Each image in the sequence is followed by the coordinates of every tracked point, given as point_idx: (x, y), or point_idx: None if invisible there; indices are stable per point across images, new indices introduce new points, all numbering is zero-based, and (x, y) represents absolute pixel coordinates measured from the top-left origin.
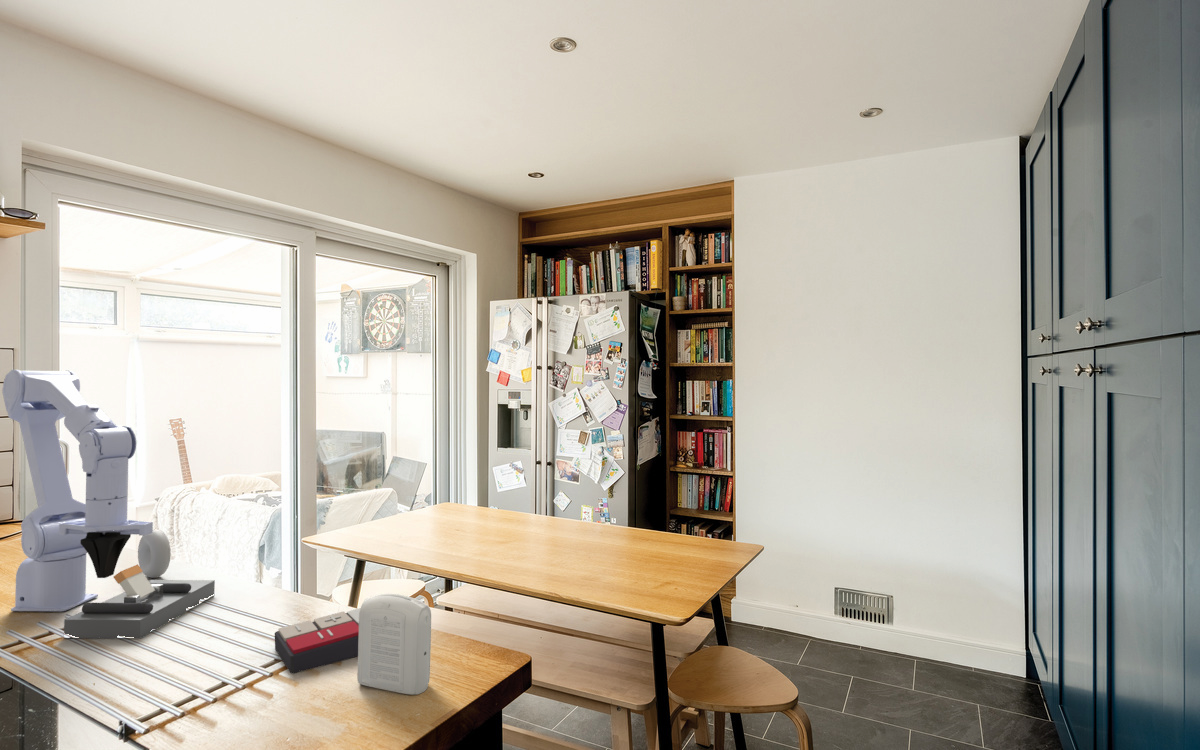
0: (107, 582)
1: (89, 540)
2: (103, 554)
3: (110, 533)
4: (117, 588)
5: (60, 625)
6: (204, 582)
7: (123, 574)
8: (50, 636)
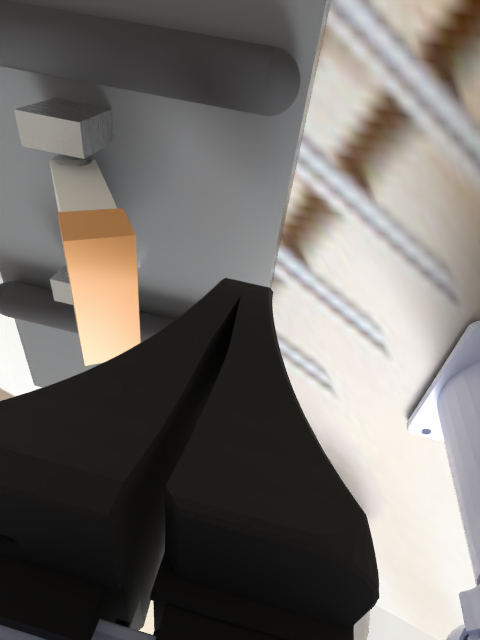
0: (427, 515)
1: (204, 520)
2: (145, 361)
3: (12, 609)
4: (378, 470)
5: (433, 169)
6: (47, 372)
7: (62, 229)
8: (425, 4)
